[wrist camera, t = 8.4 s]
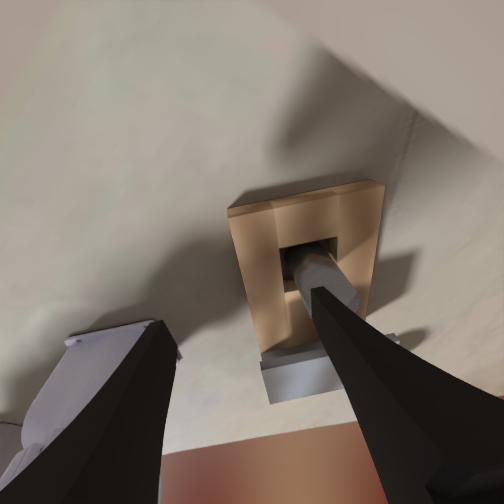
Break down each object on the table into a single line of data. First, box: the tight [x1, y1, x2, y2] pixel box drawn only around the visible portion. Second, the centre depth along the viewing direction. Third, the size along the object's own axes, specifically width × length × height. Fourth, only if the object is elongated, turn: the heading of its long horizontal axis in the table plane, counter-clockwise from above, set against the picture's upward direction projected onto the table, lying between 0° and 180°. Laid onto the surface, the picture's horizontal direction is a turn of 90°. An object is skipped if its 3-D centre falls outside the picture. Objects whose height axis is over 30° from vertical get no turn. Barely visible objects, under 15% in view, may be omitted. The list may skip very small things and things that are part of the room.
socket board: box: [227, 179, 400, 404], centre depth 20 cm, size 12×18×7 cm, turn 10°
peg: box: [284, 240, 361, 319], centre depth 18 cm, size 4×4×7 cm
